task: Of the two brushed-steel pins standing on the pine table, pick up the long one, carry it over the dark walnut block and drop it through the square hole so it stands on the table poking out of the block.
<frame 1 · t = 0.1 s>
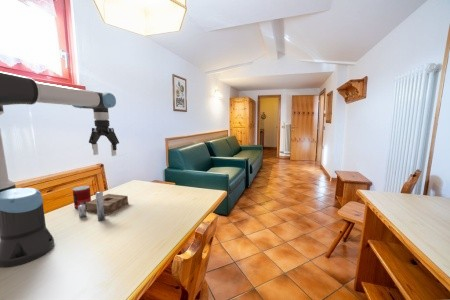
hand: (104, 155, 119), 28 cm above the table, fingers open, 13 cm apart
canned food: (83, 206, 113), on the table
short pin: (82, 216, 100), on the table
hole block: (108, 207, 110), on the table
long pin: (101, 219, 97), on the table
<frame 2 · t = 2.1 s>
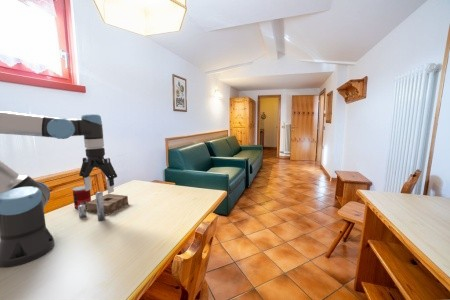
hand: (99, 191, 95), 15 cm above the table, fingers open, 13 cm apart
nothing on the table moved.
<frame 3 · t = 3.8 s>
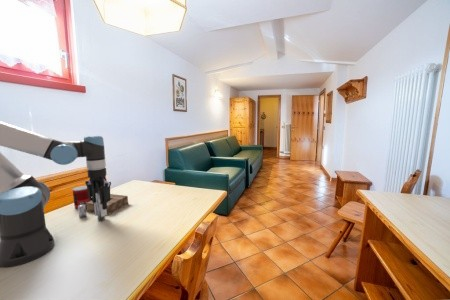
hand: (101, 214, 96), 3 cm above the table, fingers closed on long pin, 3 cm apart
long pin: (101, 219, 97), on the table, touching gripper
everything else where it was.
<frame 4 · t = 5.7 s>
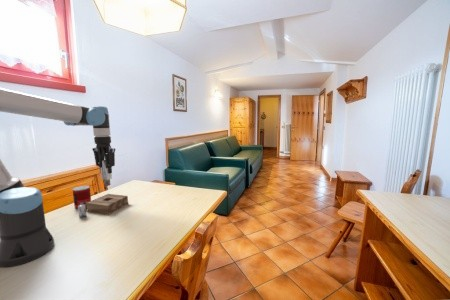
hand: (106, 178, 108), 17 cm above the table, fingers closed on long pin, 3 cm apart
long pin: (107, 185, 108), point 13 cm above the table, touching gripper
everything else where it was.
when the fingers open (7 cm above the table, at t = 7.8 s): long pin drops 1 cm, resting in hole block.
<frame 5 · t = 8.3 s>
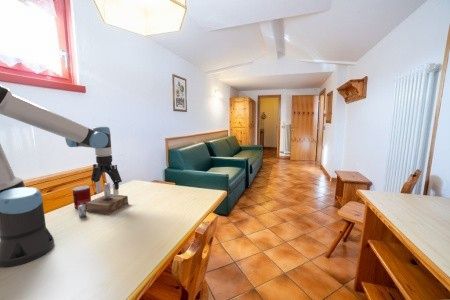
hand: (107, 193, 109), 8 cm above the table, fingers open, 11 cm apart
long pin: (108, 207, 110), resting in hole block
everything else where it was.
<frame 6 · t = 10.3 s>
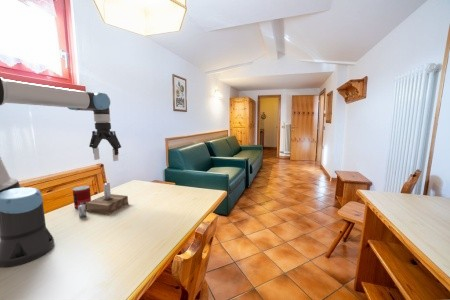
hand: (106, 160, 111), 26 cm above the table, fingers open, 13 cm apart
nothing on the table moved.
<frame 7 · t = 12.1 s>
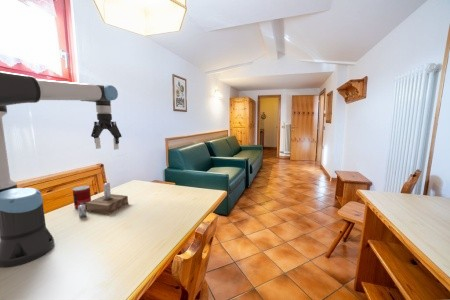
hand: (107, 148, 119), 32 cm above the table, fingers open, 13 cm apart
nothing on the table moved.
at the end: long pin 0.1 cm off-centre on the hole block, point 0.0 cm above the hole block's base; long pin tilted 0°; the gripper is holding nothing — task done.
